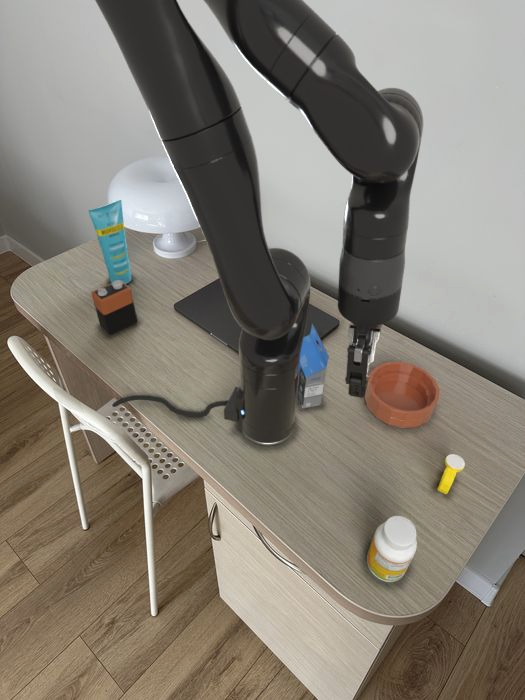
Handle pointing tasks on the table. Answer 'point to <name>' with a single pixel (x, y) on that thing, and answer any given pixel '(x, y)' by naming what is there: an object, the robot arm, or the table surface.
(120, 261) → the tube
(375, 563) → the supplement bottle
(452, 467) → the yellow flashlight
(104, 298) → the battery
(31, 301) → the table surface
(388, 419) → the bowl
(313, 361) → the blue grey carton
